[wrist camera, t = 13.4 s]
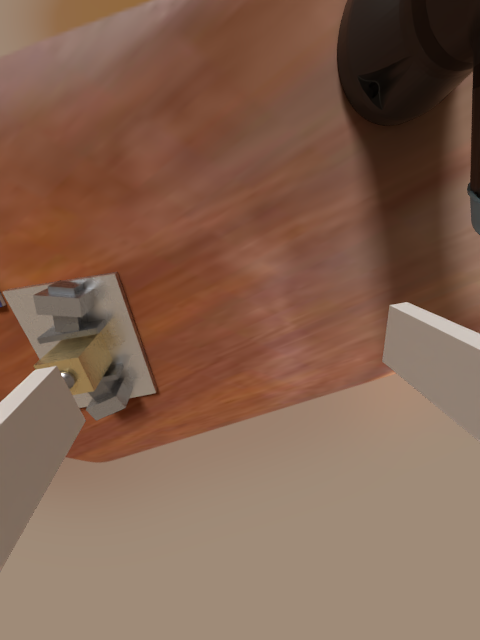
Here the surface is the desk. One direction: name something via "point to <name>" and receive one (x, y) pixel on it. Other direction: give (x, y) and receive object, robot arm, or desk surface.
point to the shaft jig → (88, 333)
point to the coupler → (79, 362)
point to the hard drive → (2, 301)
